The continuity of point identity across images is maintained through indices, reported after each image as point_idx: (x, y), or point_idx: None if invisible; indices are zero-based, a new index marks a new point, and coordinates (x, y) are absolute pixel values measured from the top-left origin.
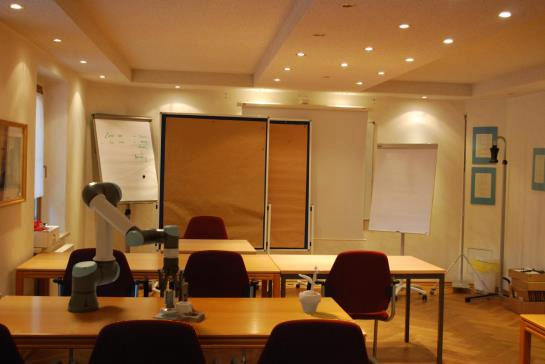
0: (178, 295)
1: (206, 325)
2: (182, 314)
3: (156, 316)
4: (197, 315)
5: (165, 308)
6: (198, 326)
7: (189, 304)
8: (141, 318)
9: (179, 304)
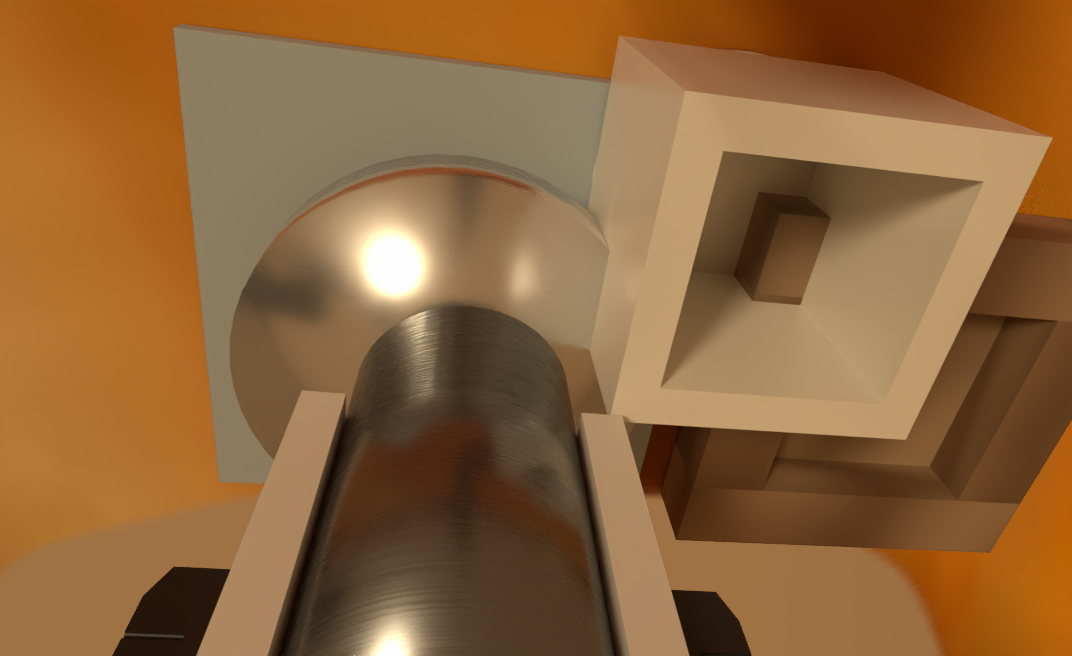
0: (745, 652)
1: (1052, 588)
2: (736, 438)
3: (263, 450)
4: (1003, 434)
5: (337, 358)
6: (947, 637)
7: (953, 311)
8: (63, 531)
9: (698, 426)
